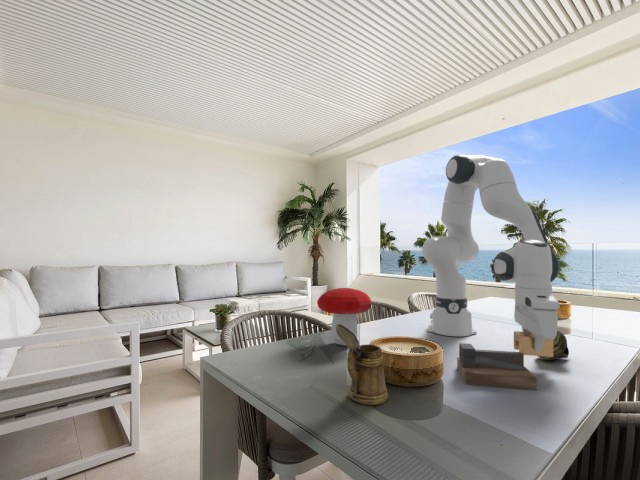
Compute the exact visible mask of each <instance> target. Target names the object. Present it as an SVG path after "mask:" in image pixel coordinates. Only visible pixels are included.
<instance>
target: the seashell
mask: <svg viewBox="0 0 640 480" xmlns="http://www.w3.org/2000/svg"><path fill="white" fill-rule="evenodd" d="M569 356H570V350H569V348H568V340H567V337H566V336H565V334H564V333H563V332H561V331H559V330H557V335H556V337H555V339H554V340H553V357H546V356H537V358H539V359H540V360H544V361H553V360H557V359H558V360H559V359H568V358H569Z"/></svg>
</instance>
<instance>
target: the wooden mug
mask: <svg viewBox="0 0 640 480" xmlns="http://www.w3.org/2000/svg"><path fill="white" fill-rule="evenodd" d="M336 331H337V334H338V336H339V337H340V339H341V340H342V341H343V342H344V343H345V344H346V345H345V346H347V348H349V350H348V353H347V358H346V359H347V360H346V366H347V371H348V373H349V377H350V378H351V384H350V386H349V391H348V397H349V399H351V400H352V401H353V402H355V403H356V404H359V405H364V406H378V405H382V404H384V403H385V402H387V401H388V399H389V392H388V389H387V387H386V379H385V372H384V362H385V361H384V355H383V354H382V348H381V347H380V346H379V345H378V346H377V345H376V344H375V345H374V344H361V345H360V341H359V340H358V337H357V338H356V336H355V335H354V334H353V333H352V332H351V331H350V330H349V329H347V328H346V327H344V326H342V325H340V324H338V325H337V326H336Z"/></svg>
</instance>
